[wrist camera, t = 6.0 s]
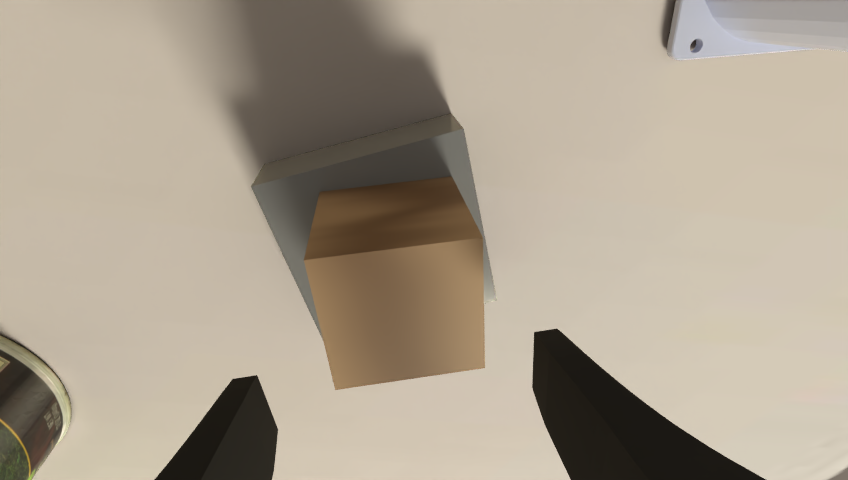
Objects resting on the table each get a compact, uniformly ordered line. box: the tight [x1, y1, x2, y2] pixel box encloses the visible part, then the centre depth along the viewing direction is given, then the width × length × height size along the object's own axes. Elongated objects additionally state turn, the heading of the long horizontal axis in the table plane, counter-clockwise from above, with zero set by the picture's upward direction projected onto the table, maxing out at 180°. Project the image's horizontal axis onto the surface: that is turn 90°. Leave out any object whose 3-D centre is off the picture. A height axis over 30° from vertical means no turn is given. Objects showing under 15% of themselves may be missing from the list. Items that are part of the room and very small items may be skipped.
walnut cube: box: [304, 176, 485, 390], centre depth 16 cm, size 5×5×5 cm
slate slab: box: [251, 114, 497, 339], centre depth 19 cm, size 8×8×3 cm
